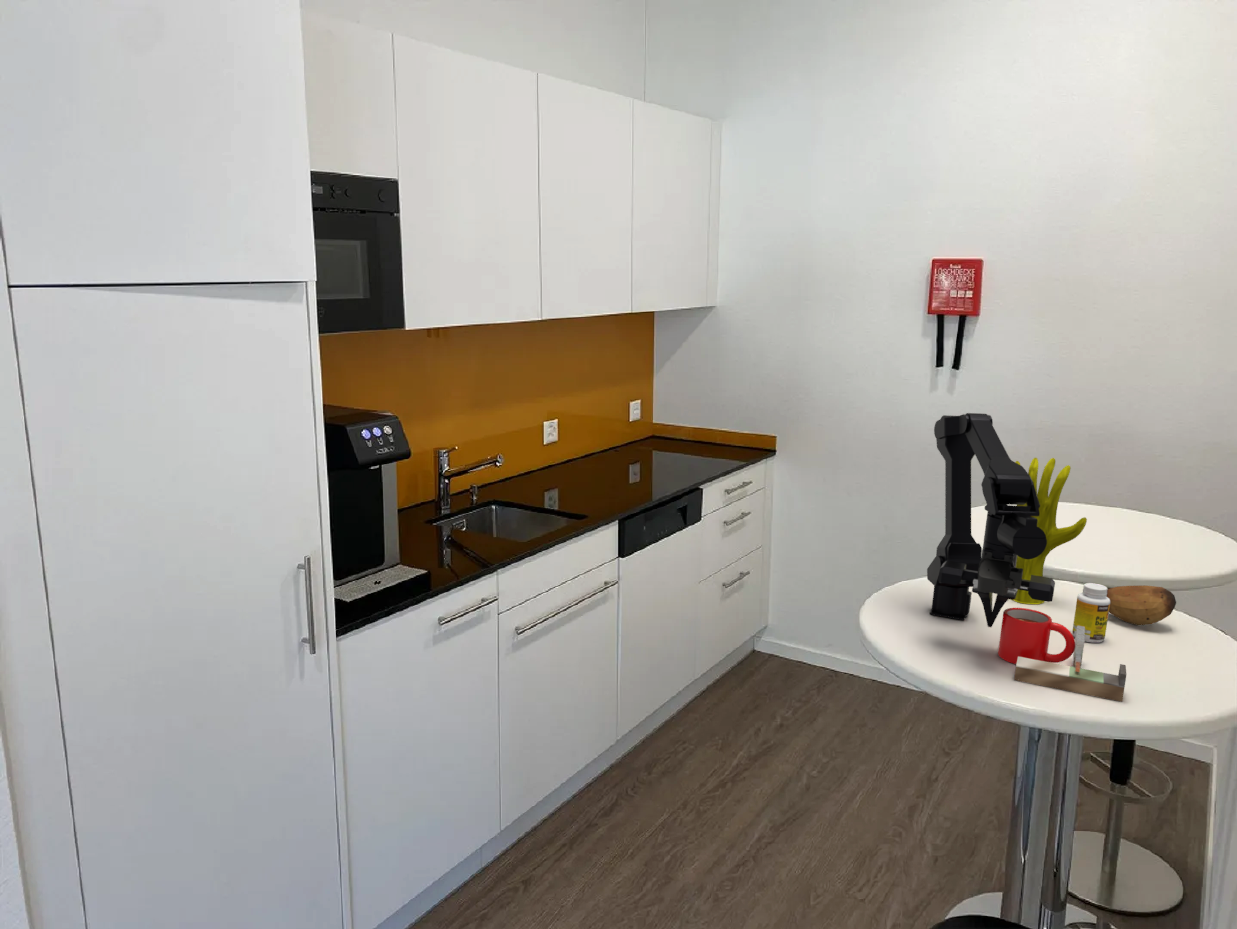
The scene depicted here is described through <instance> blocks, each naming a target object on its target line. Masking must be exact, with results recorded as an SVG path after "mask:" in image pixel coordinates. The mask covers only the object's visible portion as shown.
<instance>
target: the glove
mask: <svg viewBox="0 0 1237 929" xmlns="http://www.w3.org/2000/svg"><path fill="white" fill-rule="evenodd" d="M1014 462H1015V463H1017V464H1019V465H1021V463H1020V461H1018V460H1016V461H1014ZM1055 466H1056V458H1054V457H1052V458H1050V459H1049V460H1048V461H1047V463H1046V465H1045V466H1044V468H1043V470H1042V474H1041V476H1040V477H1041V478H1040V481H1039V486H1038V472H1039V471H1038V470H1039V459H1038V457H1033V459H1032V460H1031V461H1030V464H1029V468H1028V471H1027V473H1028V474H1029V475H1030V477H1031V479H1032V481H1033V483H1034V487H1035V491H1036V494H1037V497H1038V500H1039V503H1040V507H1039V513H1040V515H1039V516H1030V517H1034V518H1036V519H1037V520H1038V521H1037V527H1039V528H1040V529H1042V530H1043V532H1044V533H1045V535H1046V539H1047V545H1046V548H1045V550H1044V551H1043V552H1042V553H1041V554H1040V555H1039V556H1038V557H1036V558H1033V559H1024V558H1021V557H1019V556H1017V562H1016V568H1021V569H1023V574H1022V579H1025V580H1030V579H1031V575H1036V576H1041V577H1044V576H1043V575H1044V566H1045V562H1046V558H1047V556H1048V555H1049V554H1050V552H1052V550H1055V548H1057V547H1059V546H1060V547H1061V545H1063V544H1066V543H1069V542H1071V541H1073V540H1075V539H1076V538H1078V536H1080V535H1081V533H1082V532H1083V530H1084V529H1085V527H1086V525H1087V521H1088V519H1087V517H1085V516H1084V517H1081V518H1080V519H1079V520H1078V521H1076V522H1075V523H1073V524H1072V525H1070V526H1065V527H1059V528H1058V527H1057V511H1058V505H1059V501H1060V498H1061V494H1062V491H1063V489H1064V487H1065V484H1066V482H1067V481H1068V478H1069V475H1070V473H1071V469H1072V468H1071V465H1070V464H1069V465H1065V466H1064V467H1063V468H1062V469H1061V470H1060V471H1059V473H1058V474H1057V476H1056V478H1055V479H1054V482H1053V484H1052V486H1051V489H1050V491H1049V488H1050V483H1051V479H1052V475H1053V472H1054V469H1055ZM1016 506H1027V504H1024V505H1016ZM1012 601H1014V602H1015V603H1017V604H1023V605H1037V606H1038V605H1042V604H1043V603H1045V601H1041V600H1035V599H1032V598H1031V597H1030V596H1029V594H1028V591H1024V590H1017V594H1016V597H1015V599H1014V600H1012Z"/></svg>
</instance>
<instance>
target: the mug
mask: <svg viewBox="0 0 1237 929" xmlns="http://www.w3.org/2000/svg"><path fill="white" fill-rule="evenodd" d="M1002 612H1003V614H1002V620H1001V621H1002V622H1001V627H1000V633H999V634H1000V635H999V643H998V649H997V655H998V657H999V658H1000V659H1001V660H1004V661H1006V662H1008V663H1011V664H1014V665H1016V664H1017V659H1018V656H1019V657H1024V658H1029V659H1034V660H1040V661H1045V662H1050V663H1055V664H1059V663H1062V662H1064V661H1066V660H1068V659H1069V658H1071V657H1072V656H1073V652H1074V649H1075V637H1074V636H1073V634H1072V631H1070V629H1069V628H1067V627H1066V626H1065V625H1063V624H1060V623H1058V622H1054V621H1053V619H1052V617H1051V616H1050V615H1048V614H1046V613H1044V612H1042V611H1039V610H1035V609H1031V608H1024V607H1009V608H1005V609H1004V610H1003V611H1002ZM1051 631H1054V632H1055V633H1059V634H1060V635H1061V636H1063V638H1064V640H1065V647H1064V648H1063V650H1062V651H1061V652H1059V653H1054V654H1051V653H1049V652H1048V650H1049V645H1050V644H1049V643H1050V636H1051Z"/></svg>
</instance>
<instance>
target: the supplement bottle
mask: <svg viewBox="0 0 1237 929" xmlns="http://www.w3.org/2000/svg"><path fill="white" fill-rule="evenodd" d="M1107 589H1108V587H1107V586H1105V585H1103V584H1100V583H1099V584H1098V583H1094V582H1093V583H1092V582H1087V583H1084V584H1083V589H1082V592H1080V593H1078V594H1077V596H1076V603H1075V611H1074V617H1073V624H1072V631H1071V633H1072V635H1073V637H1074V638H1075V637H1076V630H1077V626H1083V627H1085V638H1084V642H1086V643H1092V644H1095V643H1098V644H1099V643H1102V642H1103V641H1105V640H1106V639H1105V637H1106V632H1107V627H1108V620H1109V614H1110V613H1109V608H1110V599H1109V598H1108V597H1106V596H1107Z"/></svg>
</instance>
